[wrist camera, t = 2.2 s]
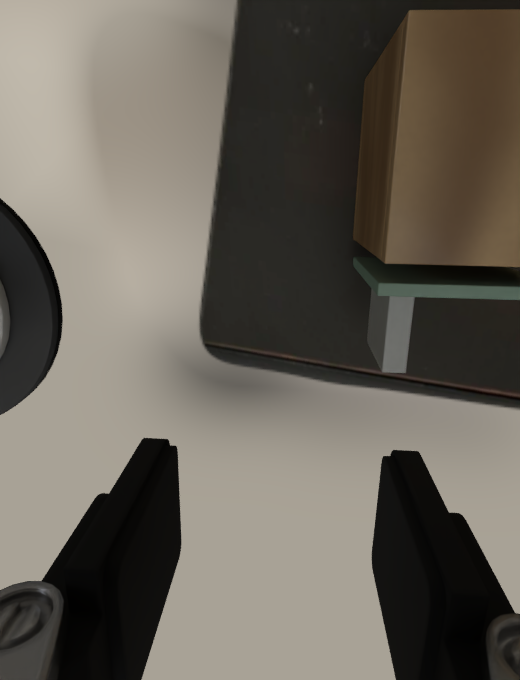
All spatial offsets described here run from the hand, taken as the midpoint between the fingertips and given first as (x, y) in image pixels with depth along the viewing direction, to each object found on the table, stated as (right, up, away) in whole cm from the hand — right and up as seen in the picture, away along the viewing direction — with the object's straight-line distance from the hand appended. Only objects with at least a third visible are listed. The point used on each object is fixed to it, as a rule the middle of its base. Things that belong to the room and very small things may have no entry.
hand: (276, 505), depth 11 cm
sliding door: (+9, +6, +19) cm, 22 cm away
